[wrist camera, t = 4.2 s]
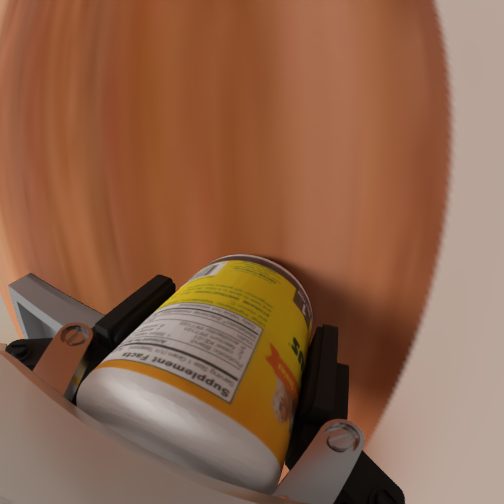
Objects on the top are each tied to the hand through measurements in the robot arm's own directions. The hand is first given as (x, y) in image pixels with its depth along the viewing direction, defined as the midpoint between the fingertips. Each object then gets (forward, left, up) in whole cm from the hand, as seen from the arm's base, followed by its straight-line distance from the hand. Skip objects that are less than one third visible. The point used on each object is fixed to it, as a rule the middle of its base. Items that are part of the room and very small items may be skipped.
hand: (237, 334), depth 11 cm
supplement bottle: (0, 0, -2) cm, 2 cm away
